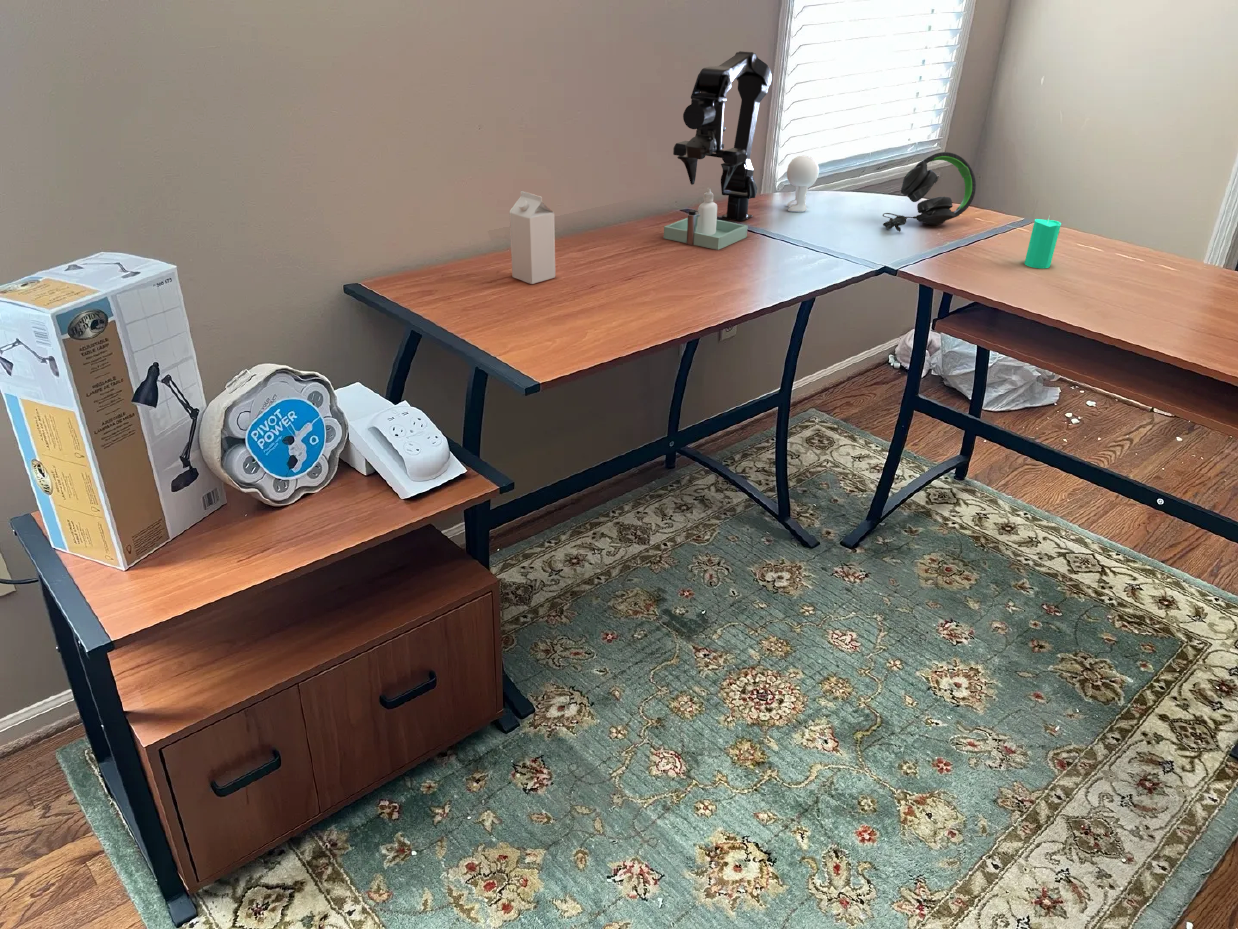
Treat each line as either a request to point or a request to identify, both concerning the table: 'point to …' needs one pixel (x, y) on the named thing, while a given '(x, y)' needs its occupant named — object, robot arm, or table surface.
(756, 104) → the robot arm
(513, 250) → the milk carton
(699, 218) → the eye dropper bottle
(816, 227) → the table surface
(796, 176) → the toy character
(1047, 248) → the candle
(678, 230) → the green tray
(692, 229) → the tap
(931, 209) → the headset
